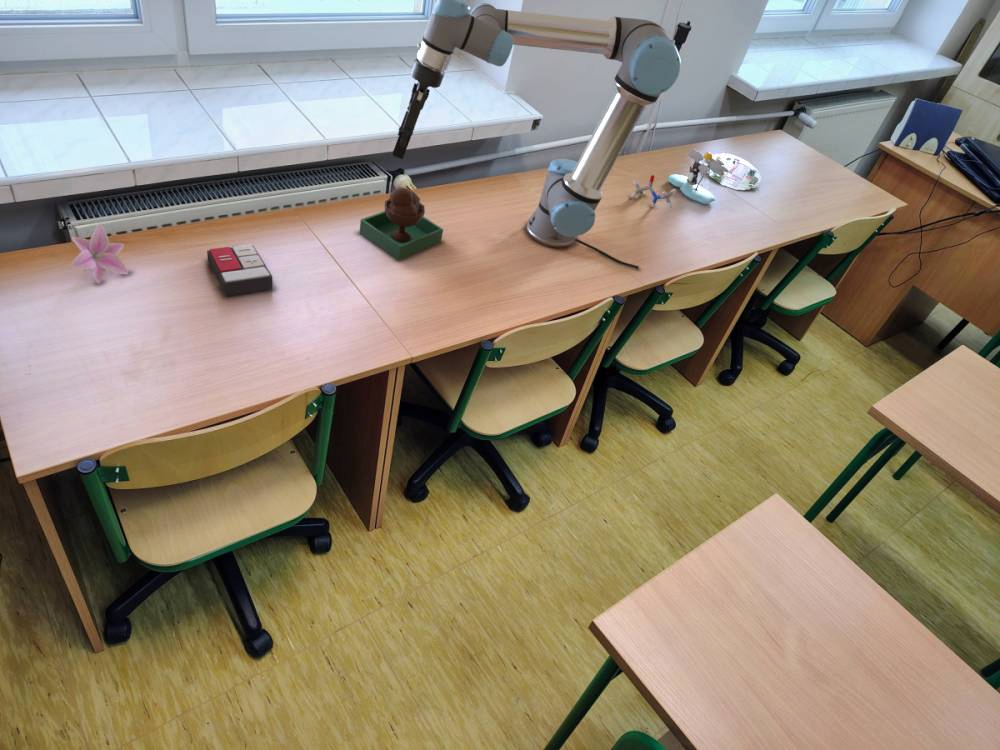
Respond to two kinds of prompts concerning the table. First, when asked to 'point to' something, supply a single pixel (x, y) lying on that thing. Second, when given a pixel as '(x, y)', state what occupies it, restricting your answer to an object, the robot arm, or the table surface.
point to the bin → (382, 228)
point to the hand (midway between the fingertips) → (400, 146)
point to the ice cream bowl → (403, 211)
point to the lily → (98, 254)
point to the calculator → (239, 270)
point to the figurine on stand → (690, 183)
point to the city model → (736, 172)
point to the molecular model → (653, 192)
